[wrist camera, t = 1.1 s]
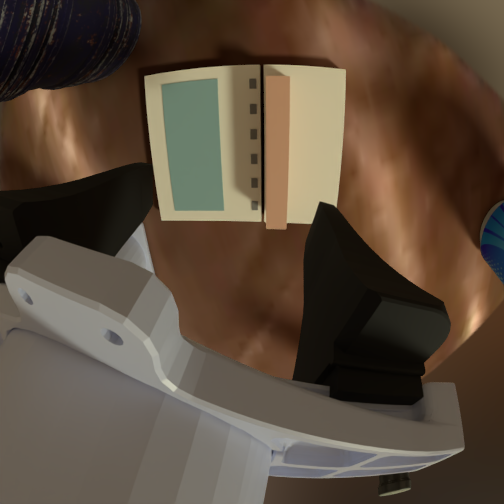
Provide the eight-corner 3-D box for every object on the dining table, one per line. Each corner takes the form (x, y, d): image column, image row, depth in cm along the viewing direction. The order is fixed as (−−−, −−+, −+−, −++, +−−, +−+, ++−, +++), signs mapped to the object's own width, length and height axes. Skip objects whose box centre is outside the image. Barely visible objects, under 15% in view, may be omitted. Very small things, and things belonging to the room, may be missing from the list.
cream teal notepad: (166, 214, 26) (161, 220, 25) (150, 76, 19) (143, 76, 18) (261, 215, 26) (260, 222, 25) (260, 65, 19) (259, 64, 17)
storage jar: (120, 93, 20) (-19, 133, 8) (46, 77, 19) (-76, 113, 6) (160, -9, 15) (41, -65, 2) (76, -12, 13) (-43, -25, 1)
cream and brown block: (265, 216, 26) (262, 240, 22) (264, 65, 18) (261, 61, 15) (332, 218, 25) (340, 242, 22) (342, 70, 18) (356, 67, 14)
